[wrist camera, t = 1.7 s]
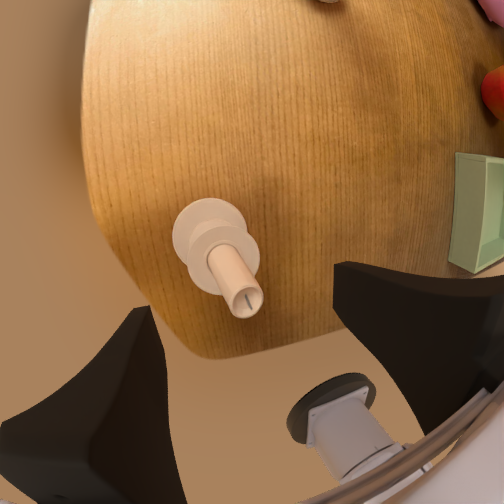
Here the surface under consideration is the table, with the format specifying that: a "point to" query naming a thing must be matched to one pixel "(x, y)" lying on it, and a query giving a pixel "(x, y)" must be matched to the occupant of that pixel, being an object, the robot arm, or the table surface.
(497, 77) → the apple
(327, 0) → the light bulb
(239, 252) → the candle
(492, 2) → the teapot
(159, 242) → the table surface
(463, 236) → the open box
